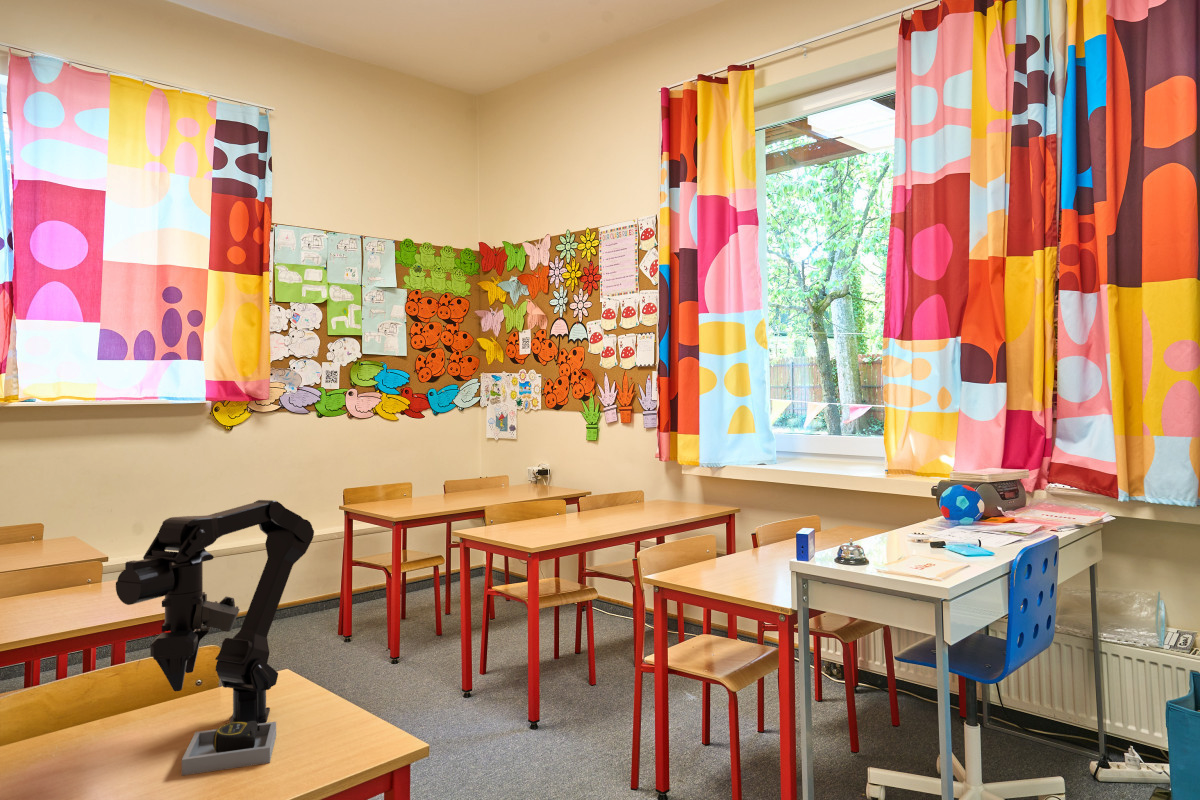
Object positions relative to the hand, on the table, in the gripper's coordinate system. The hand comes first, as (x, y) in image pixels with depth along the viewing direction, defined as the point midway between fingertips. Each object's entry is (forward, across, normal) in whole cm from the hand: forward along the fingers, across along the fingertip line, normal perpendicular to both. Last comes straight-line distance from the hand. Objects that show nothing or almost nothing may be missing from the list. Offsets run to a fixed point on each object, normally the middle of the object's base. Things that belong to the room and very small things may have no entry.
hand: (184, 681), depth 128 cm
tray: (+12, -4, -8) cm, 15 cm away
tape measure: (+12, -4, -9) cm, 15 cm away
